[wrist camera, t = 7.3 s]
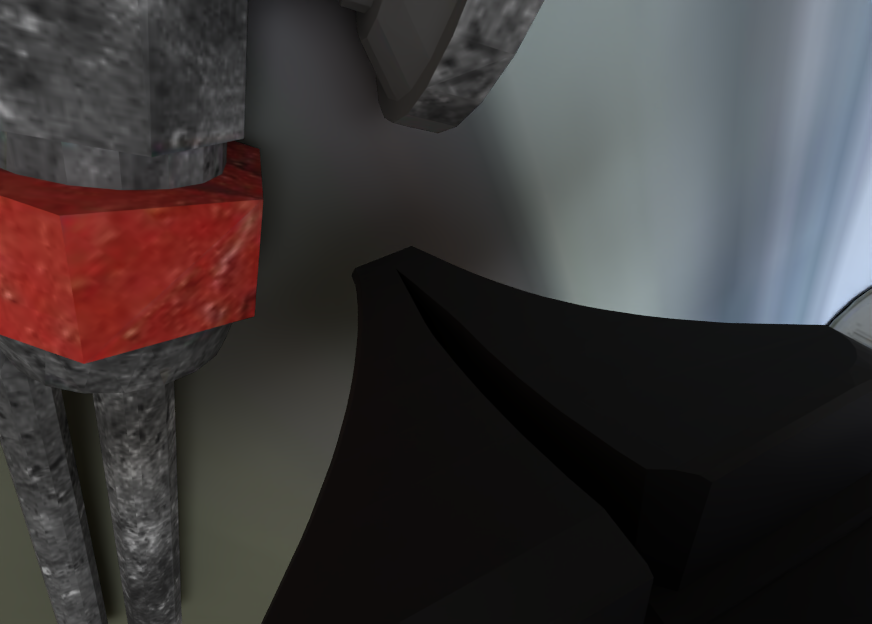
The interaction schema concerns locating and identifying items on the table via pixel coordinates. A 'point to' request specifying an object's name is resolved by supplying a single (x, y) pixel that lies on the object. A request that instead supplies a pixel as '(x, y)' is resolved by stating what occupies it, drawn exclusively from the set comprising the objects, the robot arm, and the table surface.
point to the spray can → (857, 320)
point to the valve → (157, 239)
